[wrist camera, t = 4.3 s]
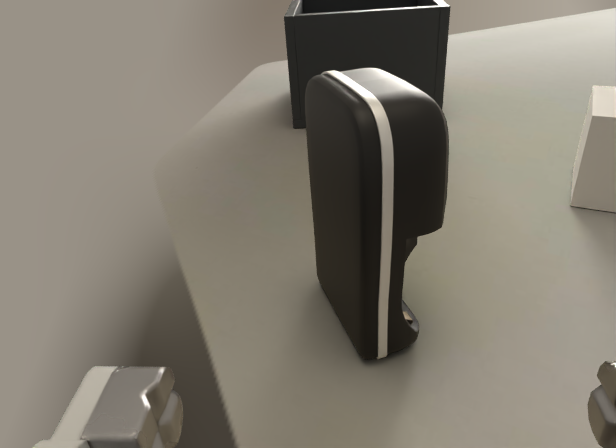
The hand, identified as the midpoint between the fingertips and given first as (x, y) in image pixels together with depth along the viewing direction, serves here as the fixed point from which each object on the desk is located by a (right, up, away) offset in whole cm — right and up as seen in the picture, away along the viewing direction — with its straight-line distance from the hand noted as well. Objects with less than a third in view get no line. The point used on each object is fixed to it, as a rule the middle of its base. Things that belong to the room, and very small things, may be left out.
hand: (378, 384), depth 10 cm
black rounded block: (+2, -1, +15) cm, 15 cm away
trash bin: (+4, +16, +42) cm, 45 cm away
